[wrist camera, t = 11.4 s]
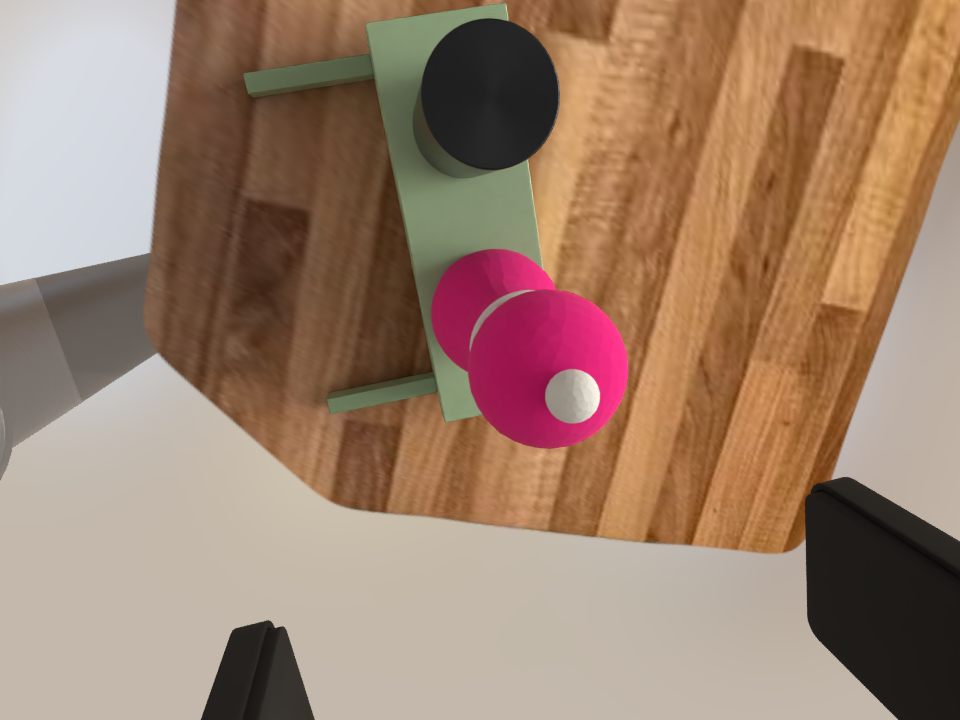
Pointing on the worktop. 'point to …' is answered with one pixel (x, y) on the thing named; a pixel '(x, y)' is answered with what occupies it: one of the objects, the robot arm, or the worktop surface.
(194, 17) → the worktop surface
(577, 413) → the pepper mill
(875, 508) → the robot arm
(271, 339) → the worktop surface
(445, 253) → the riser
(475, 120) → the spice tin
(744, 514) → the worktop surface
